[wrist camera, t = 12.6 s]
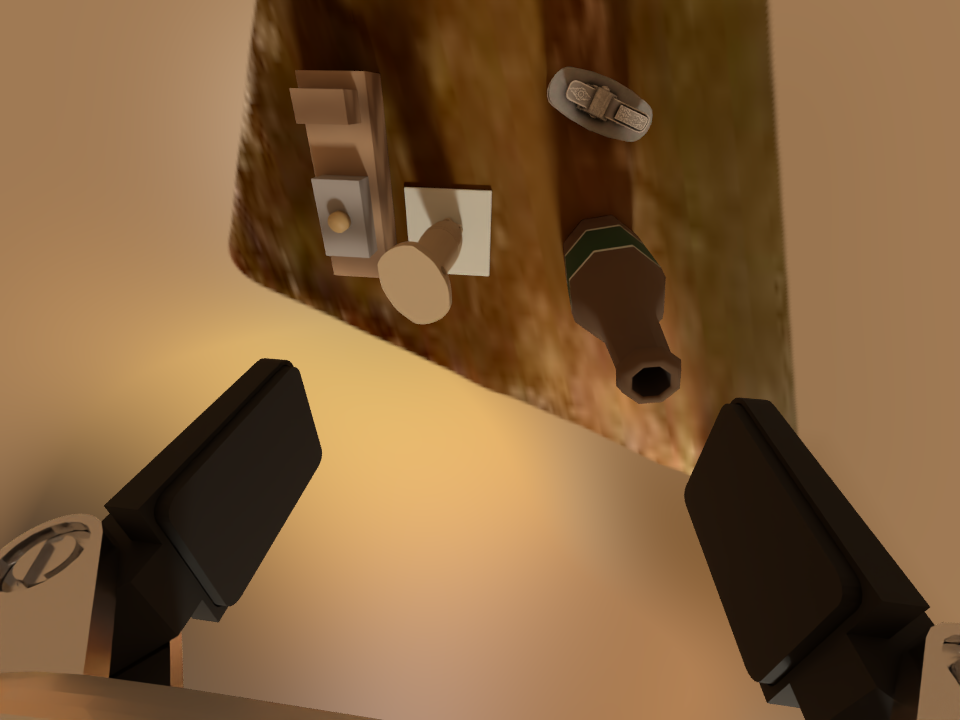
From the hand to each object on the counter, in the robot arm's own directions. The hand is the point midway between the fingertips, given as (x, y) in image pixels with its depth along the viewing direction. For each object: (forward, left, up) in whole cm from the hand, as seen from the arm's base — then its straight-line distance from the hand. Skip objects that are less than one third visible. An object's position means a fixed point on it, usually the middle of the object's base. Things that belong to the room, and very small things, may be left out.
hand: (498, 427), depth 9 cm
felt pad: (+6, -8, -36) cm, 38 cm away
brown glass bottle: (+7, +8, -36) cm, 38 cm away
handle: (+6, -8, -36) cm, 37 cm away
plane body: (+1, -17, -36) cm, 40 cm away
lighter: (-6, +5, -36) cm, 37 cm away
